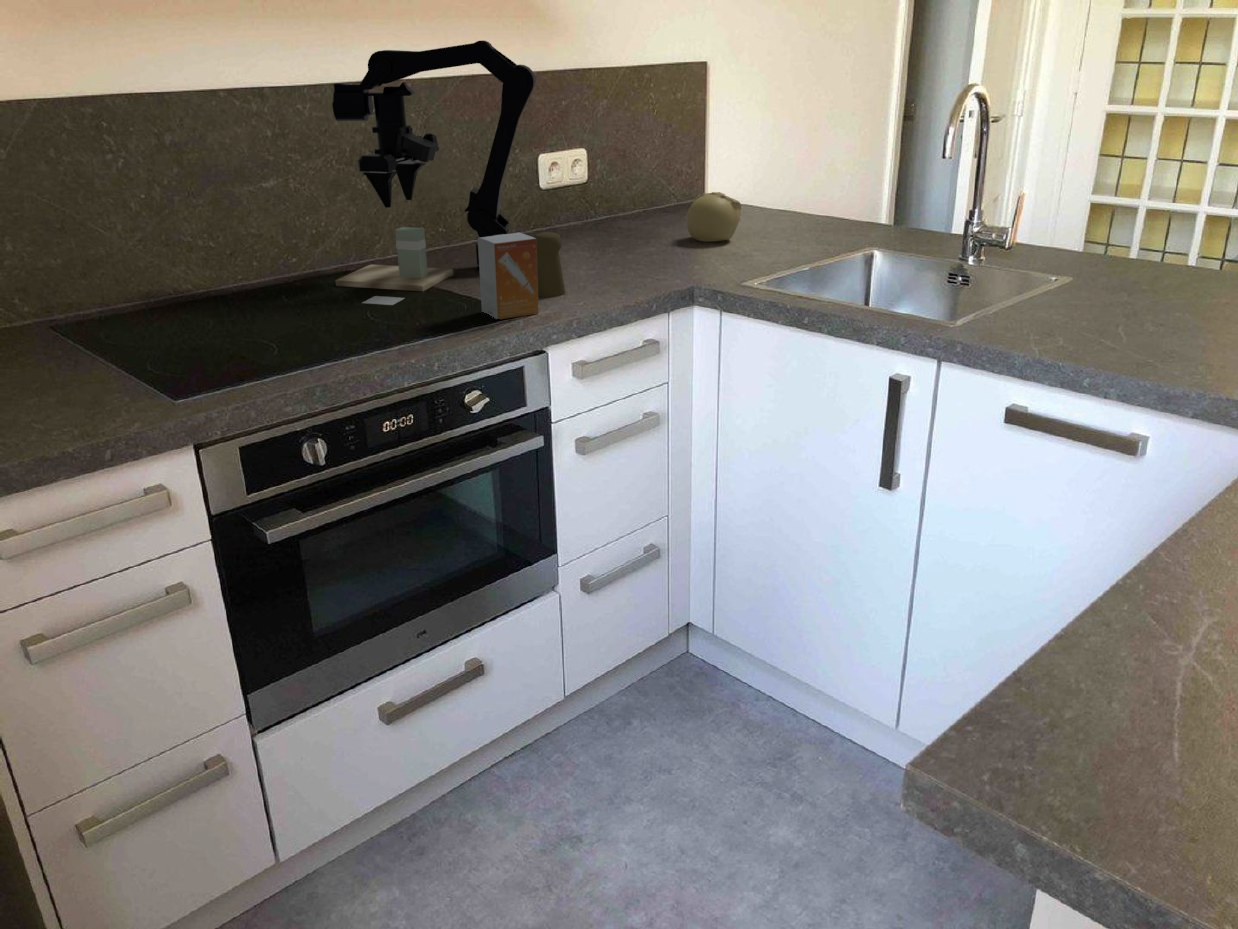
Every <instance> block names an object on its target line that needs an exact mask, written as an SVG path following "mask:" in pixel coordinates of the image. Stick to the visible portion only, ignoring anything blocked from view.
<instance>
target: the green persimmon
mask: <svg viewBox="0 0 1238 929" xmlns="http://www.w3.org/2000/svg"><path fill="white" fill-rule="evenodd" d="M741 212H742V204H741V202H740V201H739V200H737V199H735V198H732V197H730V196H727V195H726V194H725V193H723V192H720V191H715V192H714V191H713V192H712V191H711V192H702V193H701V194H699V195H698V196H696V197H694V201H693V202H692V204H691V205H690V206H689V209H688V211H687V214H686V228H687V231H688V234H689V235H690V237H691V238H692V239H695V240H696V241H700V242H706V243H710V242H719V241H720V242H721V241H728V240H730V239H732V237H733V236H734V234H735V232H736V230H737V228H738V226H739V223H740V222H741V215H742V213H741Z"/></svg>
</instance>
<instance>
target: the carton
mask: <svg viewBox="0 0 1238 929" xmlns="http://www.w3.org/2000/svg"><path fill="white" fill-rule="evenodd" d="M394 232H395V245H396V248H395V249H396V252H397V263H398V265H397V266H399V275H400V277H403V278H420V279H421V278H423V277H425V276H427V275H428V270H427V268H428V260H427V248H426V247H427V244H426V236H425V235H426V234H425V228H424V227H409V226H402V227H399V228H396V229H395V230H394Z"/></svg>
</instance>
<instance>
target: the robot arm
mask: <svg viewBox="0 0 1238 929" xmlns="http://www.w3.org/2000/svg"><path fill="white" fill-rule="evenodd" d="M474 64H480V66H482V67H484V69H486V70H487V71H488V72H489V73H490V74H491V75H492V76H494V77H495V78H496V79H497V80H498V81H500V82H501V83H502V90H501V101H500V102H501V105H500V107H501V108H500V114H499V119H498V122H497V125H496V126H497V127H496V130H495V134H494V138H493V140H492V146H491V149H490V152H489V157H488V160H487V164H486V168H485V172H484V174H483V179H482V182H481V184H480V187H479V188H477V187H475V186H473V187H472V188H471V190H470V192H469V198H468V204H467V207H466V208H465V210H464V212H465V213H466V212H467V214H466V216H467V217H466V219H467V220H466V221H467V224H468V225H469V227H470V228H471V229H472V230H473V231H475V232H476V233H477V235H478V237H477V239H478V238H480V237H489V236H494V235H502V234H509V229H510V227H511V223H510V222H509V220H508V219H506V218H505V217H504V216H503V215H502V214H501V213H500V211H501V210H500V208H501V201H502V200H501V198H502V197H501V196H502V195H501V194H502V185H503V180H504V178H505V173H506V170H507V166H508V163H509V159H510V155H511V151H512V148H513V144H514V140H515V136H516V133H517V129H518V126H519V123H520V118H521V116H522V114H523V112H524V110H525V108H526V106H527V105H528V102H529V100H530V98H531V96H532V94H533V91H534V89H535V87H536V84H537V83H536V80H537V79H536V74H535V73H534V71H533V70H532V68H530V67H529V66H527V65H525V64H517V63H515V62H514V61H513V60H512V59H510V58H509V57H507V56H506V55H504V53H502V52H501V51H499V50H497V49H496V48H495V46H493V45H492V43H490V41H487V40H477V41H475V42H473V43H472V42H471V43H464V44H459V45H452V46H446V47H438V48H433V49H427V50H426V49H425V50H418V51H417V50H416V51H415V50H414V51H413V50H398V49H397V50H395V49H394V50H393V49H384V50H378V51H377V50H376V51H374V52H373V53H371V55H370V57H369V58H368V61H367V72H366V74H365V75H364V77H363V78H362V80H361V81H360V84H359V83H357V84H356V83H353V84H352V83H349V84H347V83H344V82H343V83H342V82H341V83H339V82H338V83H334V84H333V90H334V91H333V94H332V95H333V96H332V97H333V98H332V100H333V101H332V103H331V105H332V111H333V115H334V119H335V120H336V121H337V122H366V121H368V120H369V116H373V114H374V117H375V118H374V119H375V126H372V127H371V128H372V133H374V134H376V135H377V136H376V138H377V147H378V148H376V149H374V153H367V154H364V155H361V156H360V157H359V159H358V160H357V164H358V171H359V172H362V175H363V176H365V177H366V178H367V180H368V181H369V183H370V184H371V186H372V187H373V189H374V190H375V192H376V193H377V196H378V198H379V199H380V200H381V202H382V204H383V206H384V207H385V208H387V209H388V208H389V209H390V208H391V207H392V192H393V191H392V189H393V188H392V182H393V179H394V178H395V176H397V178H398V181H399V183H400V187H401V190H402V193H403V196H404V198H405V200H407V201H411V200H412V199H413V195H414V191H415V190H414V189H415V185H416V181H417V177H418V173H419V171H420V170H421V169H422V168H424V166H426V164H427V163H428V162H429V161H434V159H435V157H436V152H438V151H440V148H439V143H438V139H437V135H435V134H433V133H431V132H428V133H425V134H424V135H423V136H422V135H416V134H414V133H413V127H412V126H411V125H407V117H406V116H407V115H406V105H405V97H409V96H410V97H411V96H413V95H414V94H415V91H414V90H413V89H412V88H410V87H409V86H408V84H407V83H406V82H405V81H403V82H401V84H400V85H399V86H397V85H396V86H393V85H391V86H390V85H389V86H384V87H383V90H382V91H377V92H375V91H374V92H373V91H372V92H370V90H373V89H376V88H380V87H381V86H382V85H383V84H385V85H386V84H390V83H393V82H397V81H400V80H403V79H405V78H408V77H411V76H413V75H417V74H419V73H422V72H429V71H435V70H442V69H448V68H453V67H454V68H455V67H461V66H467V65H468V66H469V65H474ZM372 97H373V98H372ZM475 254H476V258H475V259H476V265H477V266H476V267H475V269H476V271H477V270H478V271H480V270H479V253H478V243H477V244H475Z"/></svg>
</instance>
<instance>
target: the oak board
mask: <svg viewBox="0 0 1238 929" xmlns="http://www.w3.org/2000/svg"><path fill="white" fill-rule="evenodd" d="M427 270H428V275H427V276H425V277H423V278H421V279H420V278H403V277H400V275H399V265H387V264H386V265H384V264H369V265H366V266H364V267H362V268H359V269H357V270H355V271H353V272H351V273H348V274H347V275H344V276H342V277H339V278H337V279H335V280H334V281H335V287H346V288H347V287H349V288H365V289H367V288H369V289H379V290H380V289H381V290H395V291H396V290H397V291H412V292H424V291H426V290H429V289H430V288H432V287H433V286H435V285H437V284H439V283H441V282H442V281H444V280H446V279H447V278H450V277H453V276H454V269H453V268H441V267H440V268H439V267H427Z"/></svg>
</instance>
